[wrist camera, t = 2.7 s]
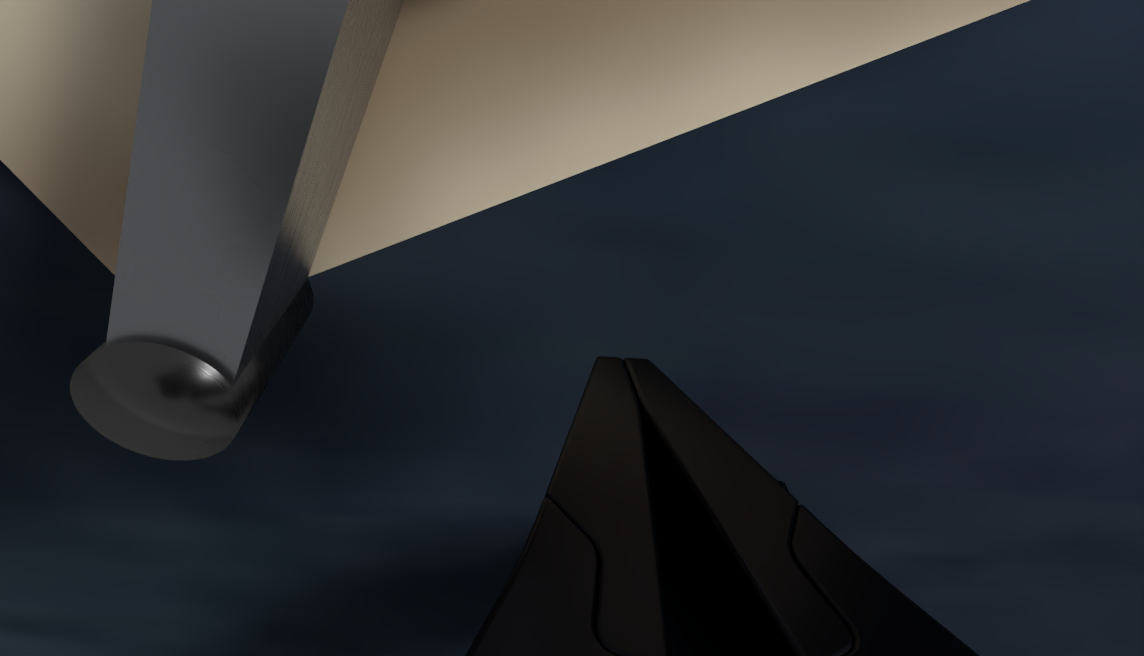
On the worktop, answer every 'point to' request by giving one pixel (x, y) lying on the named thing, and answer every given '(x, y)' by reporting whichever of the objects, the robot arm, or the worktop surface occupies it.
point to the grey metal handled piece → (226, 210)
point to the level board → (450, 96)
